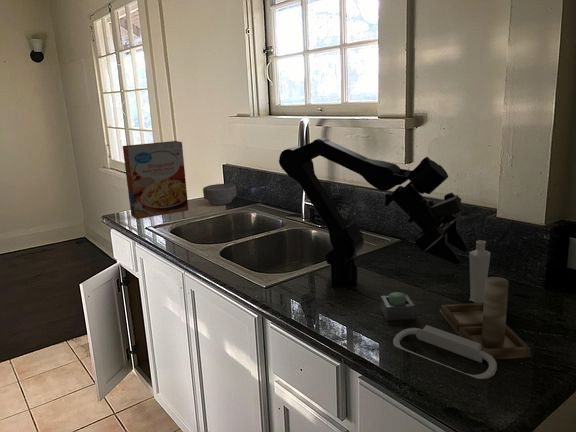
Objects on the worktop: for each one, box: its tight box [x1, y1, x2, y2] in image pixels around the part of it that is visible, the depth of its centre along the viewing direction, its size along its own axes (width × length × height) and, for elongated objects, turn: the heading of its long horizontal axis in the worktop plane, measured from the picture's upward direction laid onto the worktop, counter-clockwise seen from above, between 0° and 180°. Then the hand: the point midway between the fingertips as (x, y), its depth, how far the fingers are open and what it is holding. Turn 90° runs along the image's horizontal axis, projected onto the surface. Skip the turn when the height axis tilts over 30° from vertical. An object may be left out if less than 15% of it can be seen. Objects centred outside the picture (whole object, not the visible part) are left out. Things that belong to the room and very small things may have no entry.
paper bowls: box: [202, 183, 237, 206], centre depth 230 cm, size 15×15×8 cm
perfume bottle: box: [468, 239, 491, 303], centre depth 113 cm, size 5×4×15 cm
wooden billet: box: [481, 276, 510, 349], centre depth 93 cm, size 4×4×13 cm
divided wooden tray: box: [438, 302, 533, 361], centre depth 100 cm, size 10×21×2 cm, turn 2°
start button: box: [388, 291, 407, 305], centre depth 109 cm, size 4×4×4 cm
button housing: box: [380, 294, 416, 321], centre depth 109 cm, size 6×6×4 cm
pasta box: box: [122, 140, 189, 220], centre depth 213 cm, size 23×8×30 cm, turn 122°
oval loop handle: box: [392, 324, 498, 380], centre depth 92 cm, size 20×8×4 cm, turn 43°
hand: (463, 257), depth 114 cm, fingers open, 9 cm apart
